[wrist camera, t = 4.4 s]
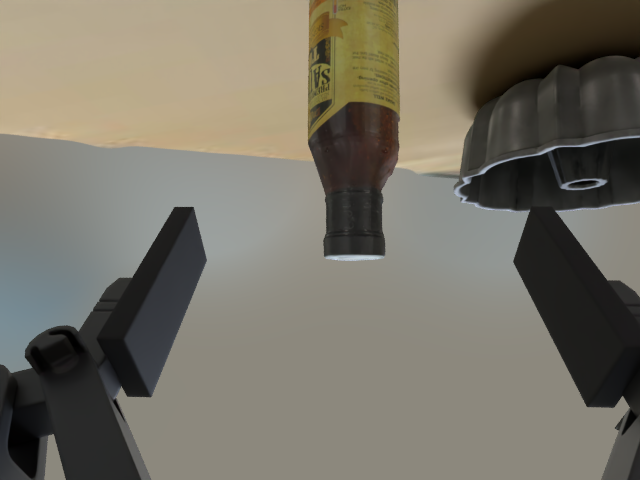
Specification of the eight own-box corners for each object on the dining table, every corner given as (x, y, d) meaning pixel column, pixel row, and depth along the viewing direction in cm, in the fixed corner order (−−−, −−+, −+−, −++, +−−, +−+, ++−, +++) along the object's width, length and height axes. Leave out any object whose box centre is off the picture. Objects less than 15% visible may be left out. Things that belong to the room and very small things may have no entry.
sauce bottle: (309, -57, 27) (305, 251, 23) (406, -54, 27) (415, 252, 24) (309, 14, 33) (305, 263, 30) (387, 16, 33) (392, 264, 30)
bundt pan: (404, 119, 51) (406, 197, 50) (653, -30, 28) (671, 107, 27) (539, 156, 64) (544, 220, 62) (790, 74, 41) (807, 172, 39)
